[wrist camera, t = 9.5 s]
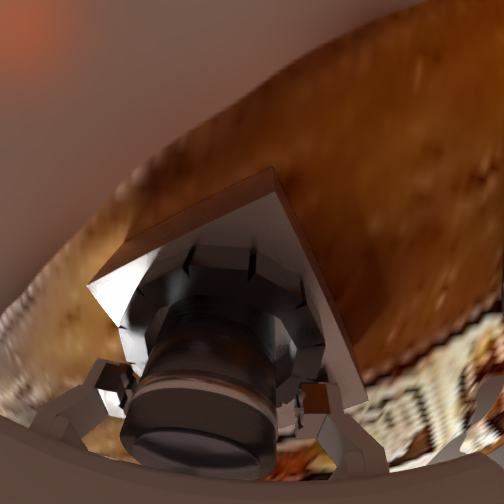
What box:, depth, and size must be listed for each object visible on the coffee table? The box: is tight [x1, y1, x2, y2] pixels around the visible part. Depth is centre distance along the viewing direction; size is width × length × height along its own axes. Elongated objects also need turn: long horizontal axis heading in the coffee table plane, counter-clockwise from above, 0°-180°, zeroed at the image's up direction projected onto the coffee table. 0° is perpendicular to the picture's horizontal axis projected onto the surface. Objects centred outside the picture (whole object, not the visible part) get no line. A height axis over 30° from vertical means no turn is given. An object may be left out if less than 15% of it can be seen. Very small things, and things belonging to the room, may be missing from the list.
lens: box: [120, 294, 278, 481], centre depth 11 cm, size 5×5×7 cm
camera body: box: [87, 167, 369, 428], centre depth 17 cm, size 14×10×7 cm
